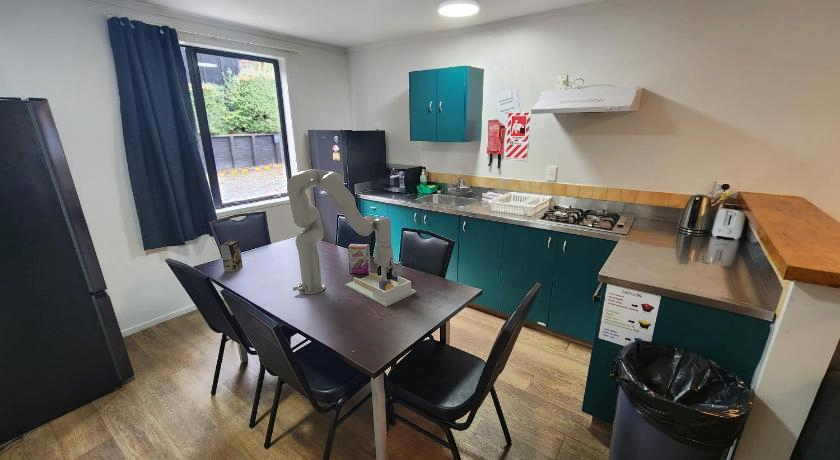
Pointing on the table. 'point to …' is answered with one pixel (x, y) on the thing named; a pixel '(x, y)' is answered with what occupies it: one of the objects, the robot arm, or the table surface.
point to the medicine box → (397, 269)
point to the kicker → (383, 279)
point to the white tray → (371, 289)
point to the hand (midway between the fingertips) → (384, 276)
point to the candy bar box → (359, 258)
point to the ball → (389, 286)
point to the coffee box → (231, 256)
